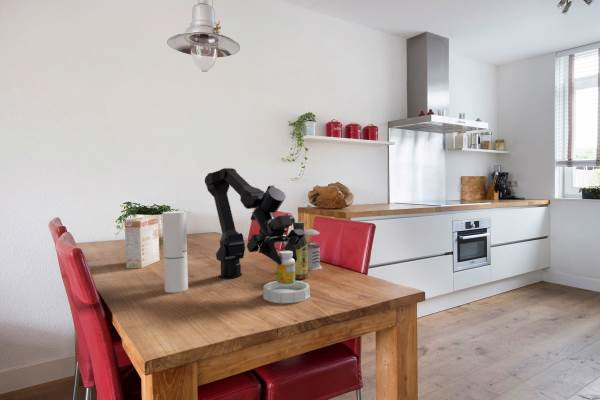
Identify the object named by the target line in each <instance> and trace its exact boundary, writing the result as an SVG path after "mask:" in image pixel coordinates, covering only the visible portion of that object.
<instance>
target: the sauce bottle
mask: <svg viewBox="0 0 600 400" xmlns="http://www.w3.org/2000/svg"><path fill="white" fill-rule="evenodd" d="M292 227H293V230H295V229H302V230H303V232H304V230H305V222H304V221H295V223H293V224H292ZM305 238H306V236H304V237H303V238H302V240H301V241H300V243H299V244H298V245H296V246H295V247H296V255H297V261H296V262H295V280H303V279H307V278H308V272H309V270H308V244H307V242H308V241H306V239H307V238H306V239H305Z"/></svg>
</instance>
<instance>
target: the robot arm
mask: <svg viewBox="0 0 600 400" xmlns="http://www.w3.org/2000/svg"><path fill="white" fill-rule="evenodd" d="M204 184H205V185H206V189H207V192H209V194H210V195H211V196H212V197H213V198H214V204H215V207H216V212H217V217H218V221H219V226H220V230H221V237H220V240H219V248H218V250H217V252H216V253H215V257H216V261H218V262H220V274H219V275H218V278H225V279H235V278H238V277H240V276H242V275H243V273H242V271H241V270H242V266H241V263H240V260H242V259H244V256H245V251H246V248H247V250H248V252H249V253H256V252H258V253H259V254H262V255H264V256H265V257H267V258H269V259H270V260H272V261H273V262H275V263H276V264H277V263H278V264H279V265H281V264H282V261H281V258H280V256H279V252H278V251H277V250H278V249H276V246H275V244H279V243H283V244H284V247H283V251H292V252H293V256H292V258H293V259H294V260H295V262H296V261H297V255H296V247H295V246H296V245H298V244H299V243H300V241H301V240H302V238H303V237H304V236H305V234H304V232H303V230H302V229H295V230H294V229H290V231H289V233H288V234H285V233H286V232H287V231H288V230H287V228H289V227H293V223H295V222H296V218H295V217H294V214H292V213H287V214H286V215H285V214H284V215H278V216H275V215H274V213H276V212H278V210H279V209H280V207H281V205H282V204H283V202H284V201H285V199H286V194H285V192H284V191H283V190H281V189H279V188H278V187H275V185H268V186H267V188H266V190H265V191H264V190H262V189H260V188H258V187H255V186H253V185H251V184H249V183H248V181H247V180H245V179H244V178H243V177H242V176H241V175H240V174H239V173H238V172H237V170H236V169H235V168H233V167H228V168H227V167H223V168H221V169H220V170H217V171H213V172H209V173H207V175H206V176H205V178H204ZM230 187H231V188H232V189H233V190H234V191H235V192H236V193H237V194H238V195H239V196H240V199H239V201H240V202H241V204H242V206H243V207H244V208H245V209H247V210H250V209H252V210H253V209H254V211H252V212H251V216H250V221H256V223H257V225H258V227H259V230H258V232H259V233H254V234H252V236H251V237H250V238H249V241H248V242H247V244H246V242H245V240H244V235H243V233H241V232H240V233H239V232H238V231H237V229H236V226H235V222H234V217H233V213H232V210H231V205H230V201H229V196H228V191H229V189H230ZM305 237H306V236H305Z"/></svg>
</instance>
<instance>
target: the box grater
mask: <svg viewBox="0 0 600 400" xmlns="http://www.w3.org/2000/svg"><path fill="white" fill-rule="evenodd" d="M306 207H307V209H308V212H309V213H308V215H309V218H308V219H309V220H308V221H309V228H308V229H304V234H305V239H306V241H307V240H308V239H307V237H309V241H307V244H308V271H318V269H319V270H322V269H323V266H322V265H321V263H320V262H321V261H320V258H321V256H320V255H321V254H320V246H318V245H319V244H320V243H319V242H317V241H311V236H319V235H320V234H321V232H319V231H318V230H315V229H312V228H311V212H310V211H311V209H312V205H311V204H308V205H307V206H306Z"/></svg>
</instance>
